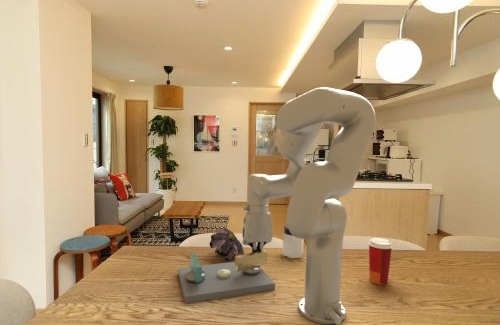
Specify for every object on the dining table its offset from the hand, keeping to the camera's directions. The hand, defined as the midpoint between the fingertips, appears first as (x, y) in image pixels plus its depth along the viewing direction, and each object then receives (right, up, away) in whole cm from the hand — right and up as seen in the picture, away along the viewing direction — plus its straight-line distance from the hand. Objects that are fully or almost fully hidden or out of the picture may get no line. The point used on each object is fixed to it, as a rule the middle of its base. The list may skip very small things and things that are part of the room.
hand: (256, 259), depth 104 cm
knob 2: (-2, -3, -4) cm, 5 cm away
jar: (+16, -4, +18) cm, 25 cm away
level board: (-11, -5, -7) cm, 14 cm away
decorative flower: (-12, -4, +15) cm, 20 cm away
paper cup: (+42, -6, -4) cm, 42 cm away
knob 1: (-20, -3, -10) cm, 22 cm away
